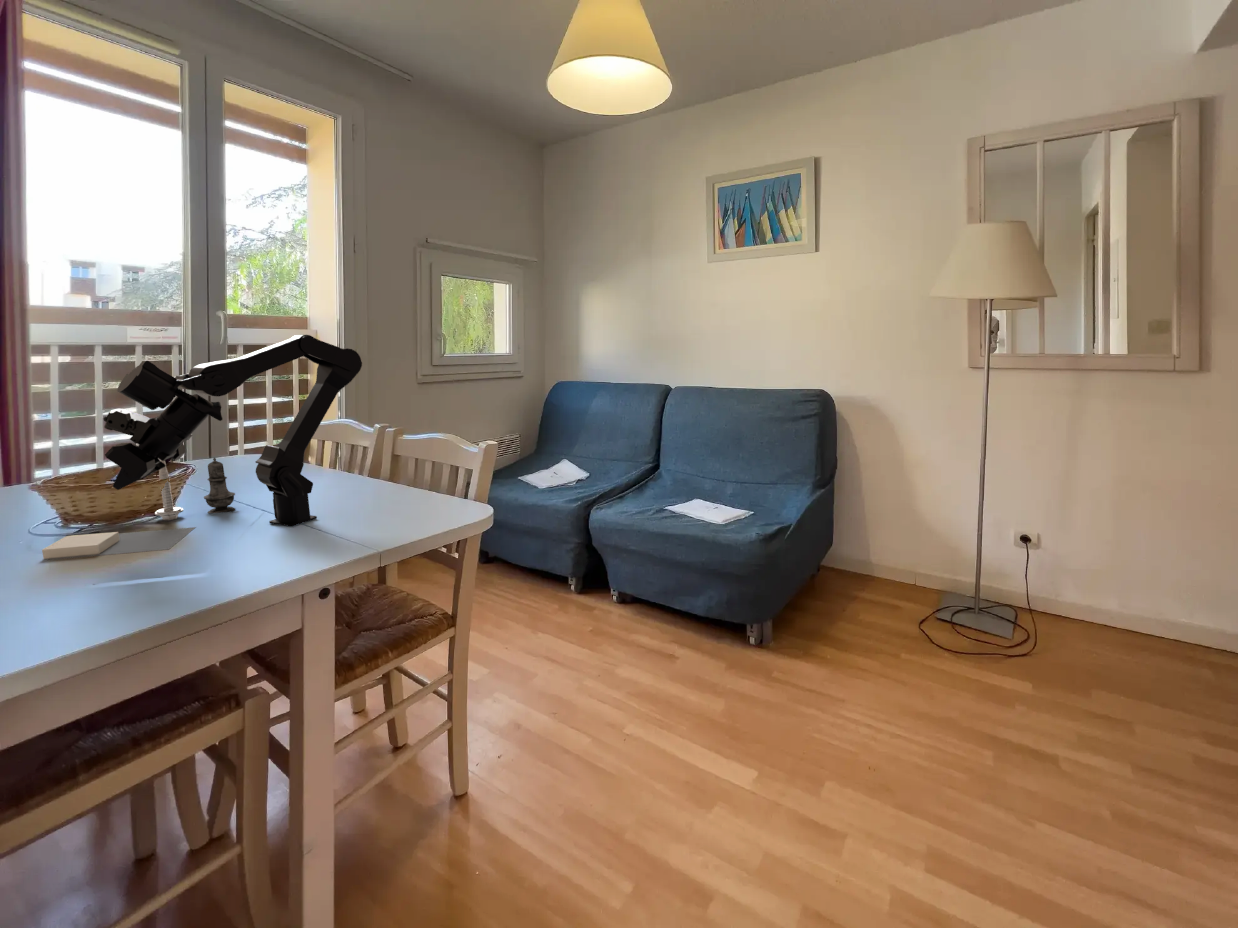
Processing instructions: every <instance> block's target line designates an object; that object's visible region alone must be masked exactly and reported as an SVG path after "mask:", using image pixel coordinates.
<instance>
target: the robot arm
mask: <svg viewBox="0 0 1238 928" xmlns="http://www.w3.org/2000/svg"><path fill="white" fill-rule="evenodd" d="M301 358H306V359H307V360H309V361H310V362H312V363H314V364H316V365H317V368H316V380H315V383H314V385H313V386H312V388H311V390H310V392H309V393H308V395H307V396H306V399H305V400H304V402H303V403H302V406H301V407H300V409H299V411H298V412H297V414H296V416H295V417H294V419H293V421H292V422H291V424H290V426H289V428H288V430H287V431H286V433H285V434H284V437H283V438H282V439H281V441H280V442H279V443H278V444H276V445H275V446H273V445H269V444H267V445H265V447H264V448H263V450H262V453H261V455H260V456H259V458H258V459H256V461H255V464H257V465H256V467H255V474H256V477H257V479H258V481H259V482H261V484H263V485H266V488H267V489H268V491H269V492H272V497H273V498H272V502H273V503H272V504H273V513H274V518H275V519H271V520H269V524H272V525H277V526H283V527H285V526H286V527H294V526H297V525H300V524H305V523H307V522H311V521H313V520H317V519H318V516H317V515H311V510H310V501H309V494H311V493H312V490H313V488H314V487H313V486H314V482H312V481H311V480H310V479H308V478H306V476H304V475H303V474H302V471H303V468H304V464H305V463H304V462H305V452H306V450H307V448H308V446H309V444H310V442H311V441H312V439H313V437H314V435H315V433H316V432H317V431H318V429H319V426H320V425H321V423H322V421H323V419H324V418H325V416H326V414H327V413H328V411H329V409H330V408H331V406H332V404H333V402H334V400H336V397H337V395H338V393H339V392H340V391H341V390H343V388H345V387H346V386H347V385H349V384H350V383H352V382H353V380H354V379H355V378H356V376H357V375H358V374H359V373H360V372H361V369H362V367H363V362H362V359H361V356H360V354H359V353H358V352H357V351H356V350H355V349H352V348H343V347H339V346H337V345H334V344H330V343H328V342H326V341H322V340H320V339H318V338H316V337H314V336H312V335H311V334H295V335H293V336H292V337H290V338H288V339H285V340H283V341H280V342H277V343H274V344H272V345H269V346H266V347H263V348H261V349H258V350H255V351H252V352H250V353H247V354H245V355H242V356H239V357H236V358H230V359H229V358H228V359H224V360H216V361H210V362H205V363H200V364H197V365H195V366H193V367H192V368H191V369H189V373H184V374H181V375H176V376H172V375H171V374H169V373H167V372H166V371H164V370H162V369H161V368H159V367H157V365H156V364H154V363H152V362H151V361H149V360H141V362H140V364H139V365H137V366H136V367H134V368H133V369H132V370H131V371H130V372H128V373H127V374H126V375H125V376H124V377H123V378H122V379H121V381H120V383H119V385H118V387H117V390H116V391H117V393H119V394H121V395H123V396H125V397H126V398H129V399H130V400H133V401H134V402H136V403H137V404H140V405H142V406H144V407H145V408H147V409H149V410H150V411H154V410H156V409H158V408H160V409H162V412H161V413H160V414H159V415H157V417H148V416H146V415H144V414H140V413H137V412H134V411H132V410H129V409H128V410H127V409H125V408H115V409H112V410H109V411H108V413H107V415H106V416H104V417H103V421H104V422H105V424H104V426H103V428H104V429H106V430H108V431H115V432H117V433H118V432H119V433H121V434H125V435H128V436H131V437H130V438H129V440H130V441H131V442H133V443H134V444H133V443H131V442H122V443H119V444H115V445H113V446H111V447H110V448H109V450H108V451H107V452H106V453H105V454H104V457H105V458H106V459H108V460H109V461H111V463H114V464H115V465H117V466H118V467H120V470H119V472H118V474H117V476H116V478H115V480H114V482H113V484H112V487H113V488H114V489H115V490H117V491H118V490H121V489H124V488H125V487H127V486H129V485H132V484H133V483H135V482H137V481H139V480H142V479H144V478H145V477H148V476H149V475H152V474H153V473H155V472H159V470H160V469H162V468H164V467H165V466H166V467H167V464H166V465H165V464H164V463H162V462H161V461H160V460H162V461H166V460H168V459H170V458H171V461H172V462H177V461H179V460H180V459H181V458H182V457H183V455H185V454H186V452H187V451H186V446H185V444H184V443H185V442H186V441H189V440H190V439H191V438H192V437H193V435H192V434H193V433H194V432H195V431H196V430H197V429H198V427H200V425H201V424H202V423H203V422H204V421H205V420H206V419H207V418H208V417H209V416H210V417H211V418H214V419H215V420H217V421H220V422H221V421H223V415H222V404H221V401H210V400H208V399H206V398H204V397H203V396H201V395H204V396H210V397H222V396H226V395H228V394H229V393H231V392H233V391H234V390H235V389H237V388H239V387H240V386H242V385H243V384H245V383H246V381H248V380H249V379H251V378H252V377H255V376H257V375H259V374H262V373H265V372H267V371H269V370H271V369H274V368H277V367H281V366H282V365H285V364H288V363H290V362H292V361H295V360H298V359H301ZM184 390H186V391H187V390H188V391H194V392H195V394H190V393H189V392H186V391H184ZM163 409H164V410H163ZM135 444H138V445H135Z"/></svg>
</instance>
